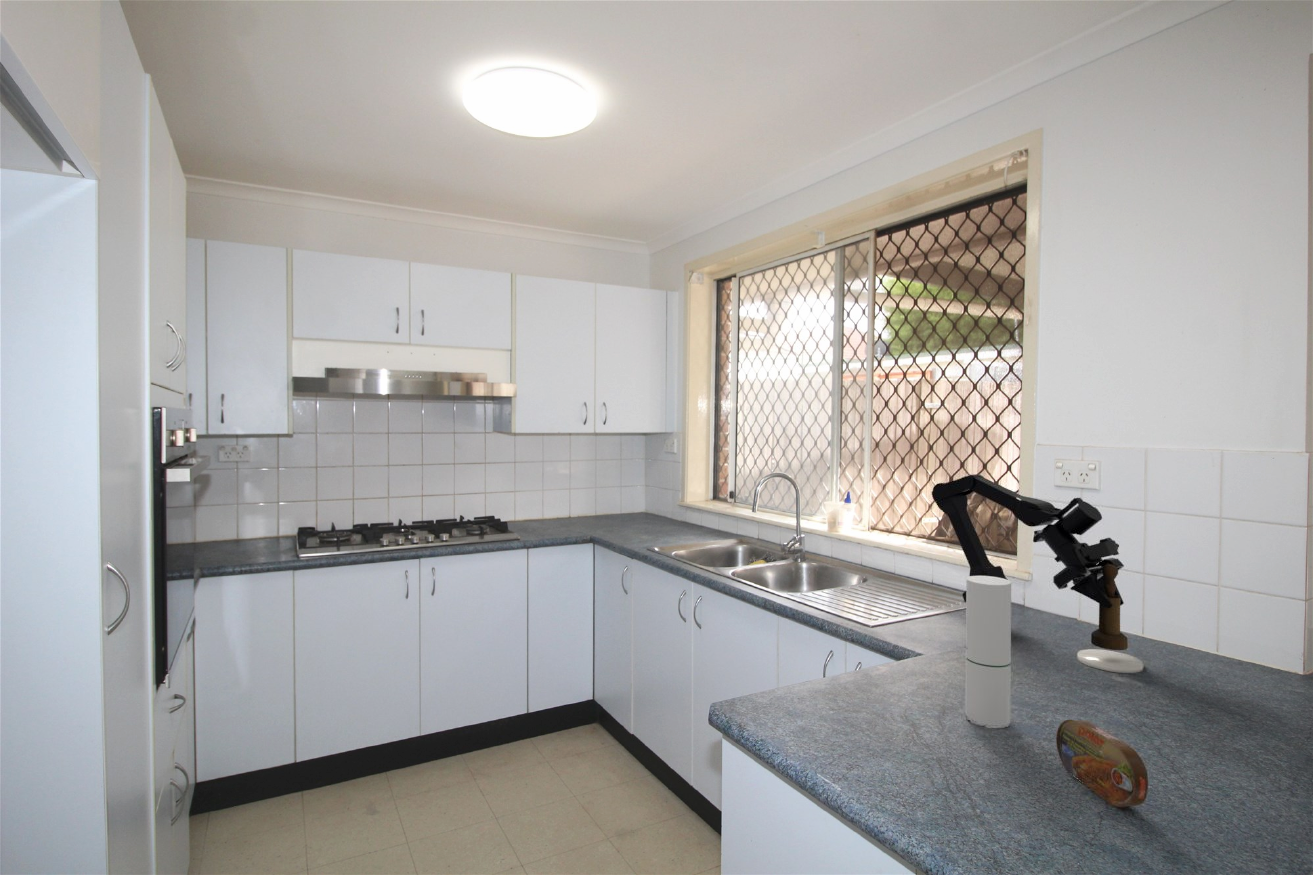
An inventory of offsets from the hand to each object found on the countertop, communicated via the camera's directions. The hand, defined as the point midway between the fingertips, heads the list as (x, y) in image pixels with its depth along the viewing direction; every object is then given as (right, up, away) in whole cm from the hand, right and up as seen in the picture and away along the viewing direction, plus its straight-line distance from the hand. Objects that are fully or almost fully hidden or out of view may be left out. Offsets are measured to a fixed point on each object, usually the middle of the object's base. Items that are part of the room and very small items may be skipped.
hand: (1116, 605), depth 146 cm
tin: (-36, -14, -49) cm, 63 cm away
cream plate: (-1, -13, +1) cm, 13 cm away
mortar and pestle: (-1, -9, +1) cm, 10 cm away
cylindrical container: (-41, -14, -27) cm, 51 cm away
